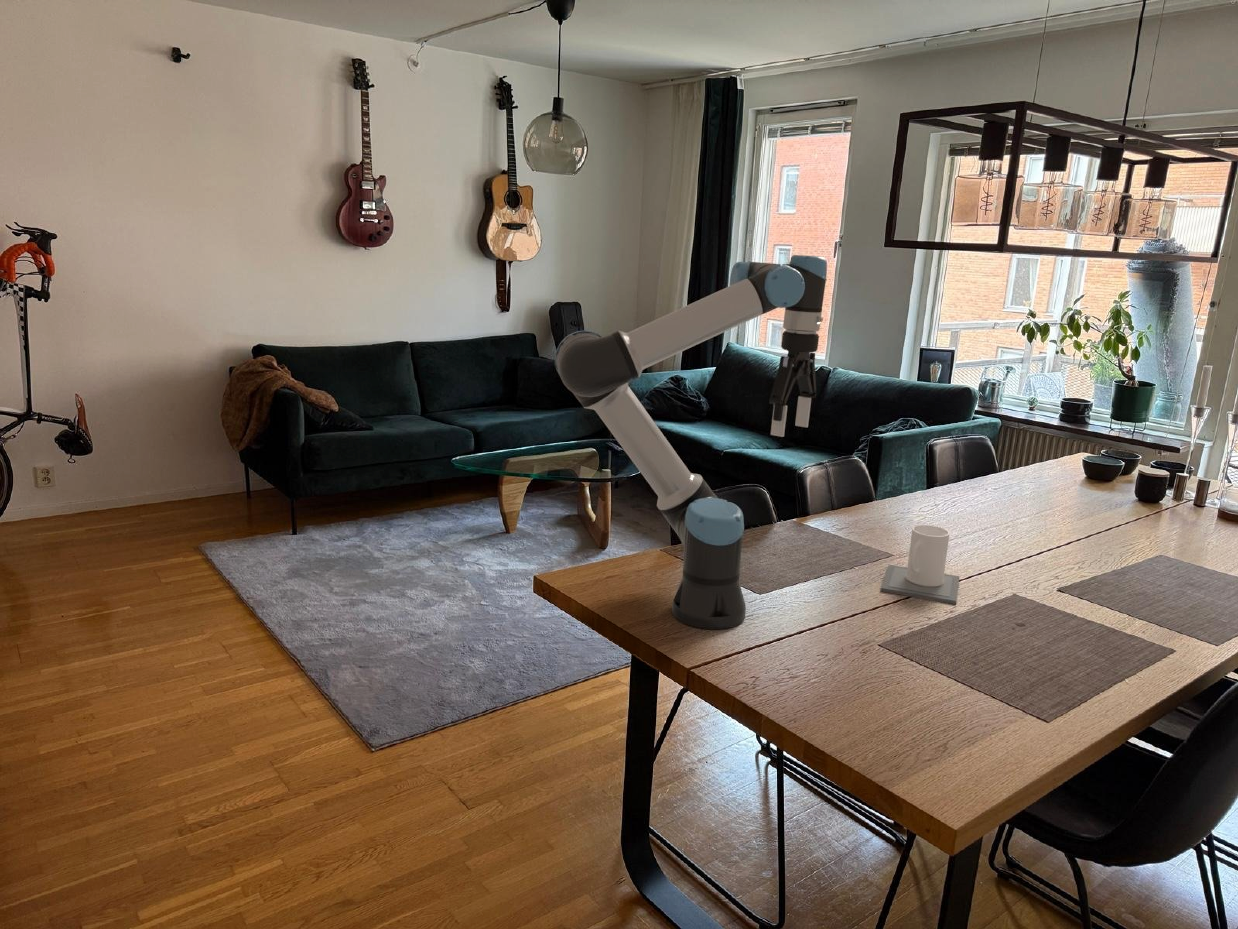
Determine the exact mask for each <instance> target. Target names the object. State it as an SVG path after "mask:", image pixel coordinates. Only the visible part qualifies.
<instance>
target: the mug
mask: <svg viewBox="0 0 1238 929" xmlns="http://www.w3.org/2000/svg"><path fill="white" fill-rule="evenodd" d="M949 540H950V531H948V530H947V529H946V528H942V527H940V526H935V525H928V524H920V525H919V524H918V525H914V526H913V527H912V528H911V536H910V544H909V551H908V560H907V566H906V568H907V572H906V575H905V578H906V579H907V580H908V581H909V582H911V583H914V584H917V585H921V586H927V587H937V586H941V585H943V584H944V574H945V567H946V561H947V555H948V554H947V553H948V547H949Z"/></svg>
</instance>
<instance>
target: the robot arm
mask: <svg viewBox="0 0 1238 929" xmlns="http://www.w3.org/2000/svg"><path fill="white" fill-rule="evenodd" d="M827 267H828V262H827V259H826V258H825V257H823V256H817V255H802V254H801V255H800V254H793V255H792V256H791V258H790V260H789V263H772V262H771V263H770V262H758V261H738V262H736V263H734V264H733V266H732V268H731V272H730V278H729V286H726V287H725V288H723V289H720V290H718V291H716V292H714V293H711V294H709V295H707V296H704V297H703V298H700V299H699V300H696V301H694V302H692V303H690V304H688V305H685V306H683V307H681V308H678V309H676V310H674V311H672V312H669V313H667V314H666V315H663V316H661V317H659V318H656V319H654V320H652V321H650V322H648V323H645V324H644V325H642V326H640V327H637V328H635V329H633V330H629V331H628V332H626V331H625V332H624V331H622V330H617V331H615V332H613V333H611V334H609V335H608V334H607V335H605V336H602V335H601V334H598V333H596V332H595V331H592V330H591V331H590V330H578V331H575V332H571V333H570V334H567V336H565V337H564V338H563V339H562V340H561V341H560V343H559V345H558V346H557V348H556V351H555V354H554V355H555V356H554V366H555V369H556V372H557V373H558V375H559V377H560V379H561V381H562V383H563V385H564V386H565V387H566V388H567V390H569V391H570V392H571V393H572V394H573V395H574V397H575V398H576V399H577V400H578V402H579V403H580V404H581V406H582V407H583V408H584V409H587V410H588V409H589V410H594V412H595V413H596V414H597V415H598V416H599V418H600V419H601V420H602V422H603V423H604V425H605V426H606V427H607V429H608V430H609V431H610V433H611V434H612V435H613V437H614V439H615V440H616V441H617V443H618V444H619V445H620V446H621V448H622V449H623V451H624V452H625V454H626V455H627V456H628V458H629V459H630V460H631V462H632V463H633V464H634V465H635V467H636V468H637V469H638V471H639V472H640V474H641V475H642V476H643V477H644V479H645V480H646V482H647V483H648V484H649V486H650V487H651V489H652V490H653V492H654V493H655V494H656V495H657V501H656V508H658V510H659V511H660V512H661V514H662V515H663V517H664V518H665V519H666V521H667V522H668V523H669V525H670V526H671V528H672V530H674V532H675V533H676V534H677V536H678V539H679V540H680V542H681V544H682V545H683V559H682V560H683V564H682V577H681V580H680V582H679V584H678V586H677V588H676V592H675V595H674V597H673V600H672V605H671V606H672V607H671V612H672V616H674V618H675V619H676V620H678V621H679V622H680V623H683V624H685V625H687V626H690V627H694V628H699V629H706V630H723V629H731V628H733V627H737V626H738V625H741V624H742V623H743V622H744V620H745V619H746V613H747V612H746V609H747V607H746V602H745V598H744V595H743V591H742V586H741V583H740V578H741V577H740V576H741V575H740V574H741V573H740V572H741V562H742V561H741V560H742V550H743V549H742V548H743V539H744V538H743V537H744V531H745V524H744V514H743V511H742V509H741V508H740V507H739V506H738V505H737V504H735V503H733V502H729V501H728V500H726V499H723V498H718V496H717V495H716V494H715V493H714V491H713V490H712V489H711V487H710V486H709V484H708V483H707V482H706V480H705V479H704V478H703V476H702V475H701V474H700V473H699V474H698V473H692V472H691V471H690V470H689V469H688V467H687V465H686V464H685V463H684V462H683V460H682V459H681V458H680V456H679V455H678V454H677V451H676V450H675V449H674V448H673V446H672V445H671V443H670V442H669V440H667V437H666V436H664V434H663V432H662V431H661V429H660V428H659V427H658V426H657V424H656V423H655V421H654V420H653V418H652V416H650V414H649V413H648V411H647V410H646V408H645V407H644V406H643V404H642V403H641V401H640V399H638V397H637V396H636V395H635V393H634V392H633V391H632V389H631V387H630V386H629V383H630V382H633V381H634V380H636V379H638V378H641V375H642V372H643V371H644V370H645V369H647V368H649V367H651V366H654V365H656V364H658V363H660V362H662V361H664V360H667V359H669V358H671V357H672V356H675V355H677V354H680V353H682V352H684V351H686V350H689V349H690V348H692V347H695V346H696V345H699V344H702V343H703V342H705V341H707V340H710V339H713V338H714V337H717V336H719V335H721V334H723V333H725V332H727V331H729V330H732V329H733V328H736V327H738V326H740V325H743V324H745V323H747V322H749V321H751V320H753V319H755V318H758V317H759V316H761V315H764V314H768V313H769V312H771V311H772V312H773V310H776V309H778V308H779V309H780V308H781V309H782V308H784V316H783V324H782V328H783V329H784V331H783V332H782V335H781V345H780V346H781V349H783V350H786V351H787V356H785V355H784V356H783V355H781V356H780V359H779V365H778V369H777V373H776V376H775V380H774V383H773V387H772V390H771V394H770V397H769V400H768V403H769V405H773V407H772V408H773V409H772V418H771V426H770V428H771V429H770V436H775V437H776V436H777V437H781V438H783V437H785V429H786V422H787V413H788V405H787V402H788V399H789V397H790V394H791V392H792V389H793V387H794V384H795V381H797V384H798V389H799V393H800V395H799V396H798V398H797V405H796V414H795V422H794V423H795V425H794V426H796V427H801V428H808V427H809V422H810V421H809V420H810V413H811V404H812V398H815V399H816V396H817V383H816V382H817V381H816V364H815V362H816V352H817V351H818V349H819V348H818V347H819V340H820V335H819V333H818V332H819V331H820V329H821V328H820V327H821V323H822V322H823V321H824V318H823V317H822V312H823V303H824V296H825V290H826V284H827V283H826V282H827V274H828V268H827Z"/></svg>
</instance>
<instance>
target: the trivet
mask: <svg viewBox="0 0 1238 929" xmlns="http://www.w3.org/2000/svg"><path fill="white" fill-rule="evenodd" d="M906 572H907V566H899V565H893V564H888V566H887V569H886V572H885V575H884V578H883V581H882V584H881V586H880V592H884V593H890V594H895V595H901V596H905V597H912V598H918V599H922V600H923V599H924V600H928V601H934V602H942V603H946V604H950V605H951V604H952V605H956V604H957V599H958V592H959V582H960V576H959V575H953V574H948V573H944V584H943V585H941V586H937V587H927V586H921V585H917V584H914V583H911V582H909V581H908V580H907V579H906V578H905V575H906Z"/></svg>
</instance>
